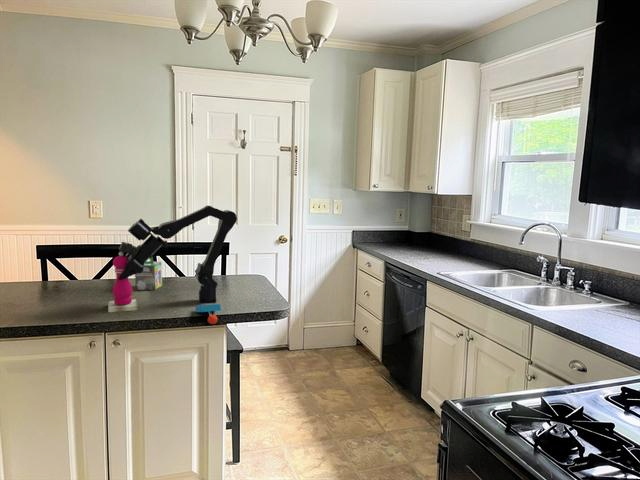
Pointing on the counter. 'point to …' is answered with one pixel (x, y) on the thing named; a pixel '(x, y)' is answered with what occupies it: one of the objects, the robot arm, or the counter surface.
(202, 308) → the lever
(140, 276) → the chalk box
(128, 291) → the pepper mill
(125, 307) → the plinth
